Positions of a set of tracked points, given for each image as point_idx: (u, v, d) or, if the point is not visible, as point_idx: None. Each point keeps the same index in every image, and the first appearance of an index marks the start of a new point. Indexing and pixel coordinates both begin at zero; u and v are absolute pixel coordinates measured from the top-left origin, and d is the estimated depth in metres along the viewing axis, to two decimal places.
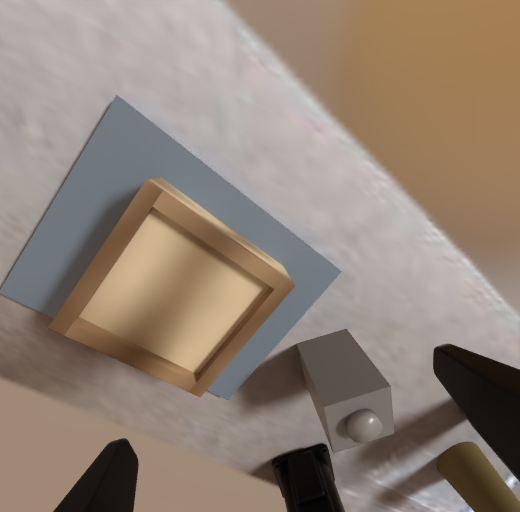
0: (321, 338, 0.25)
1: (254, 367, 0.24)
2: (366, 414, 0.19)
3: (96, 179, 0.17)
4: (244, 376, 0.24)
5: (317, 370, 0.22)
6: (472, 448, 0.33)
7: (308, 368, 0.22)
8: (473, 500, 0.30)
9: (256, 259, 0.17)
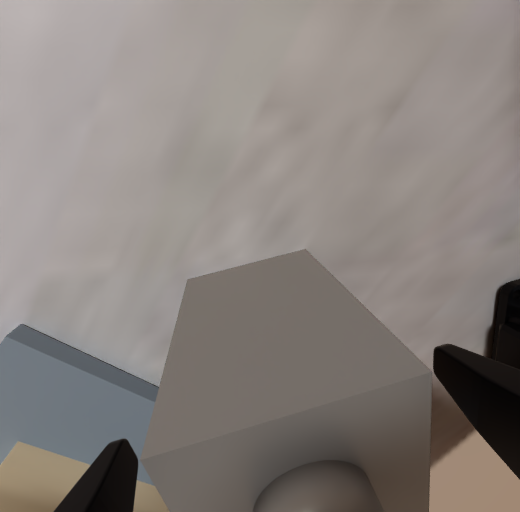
0: None
1: None
2: None
3: None
4: None
5: None
6: None
7: None
8: None
9: None
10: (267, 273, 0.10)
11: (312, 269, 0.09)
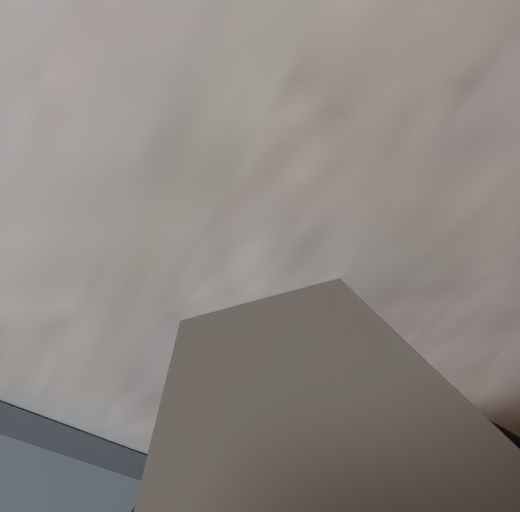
0: None
1: None
2: None
3: None
4: None
5: None
6: None
7: None
8: None
9: None
10: (292, 319, 0.07)
11: (359, 317, 0.06)
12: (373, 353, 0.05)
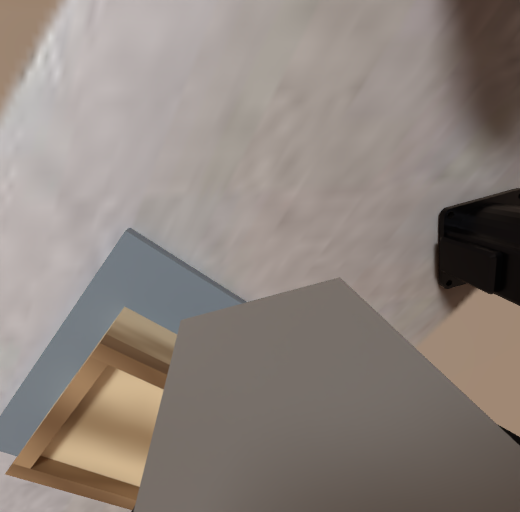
0: None
1: None
2: None
3: None
4: None
5: None
6: None
7: None
8: None
9: (69, 386, 0.14)
10: (293, 318, 0.07)
11: (360, 316, 0.06)
12: (374, 352, 0.05)
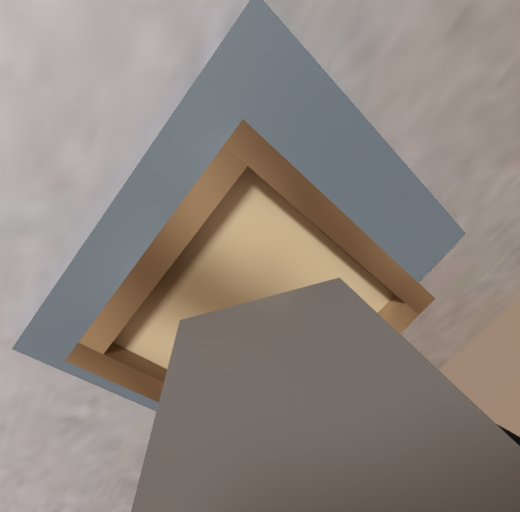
0: None
1: (421, 188, 0.14)
2: None
3: None
4: (433, 205, 0.15)
5: None
6: None
7: None
8: None
9: (183, 202, 0.09)
10: (292, 318, 0.07)
11: (360, 316, 0.06)
12: (374, 352, 0.05)
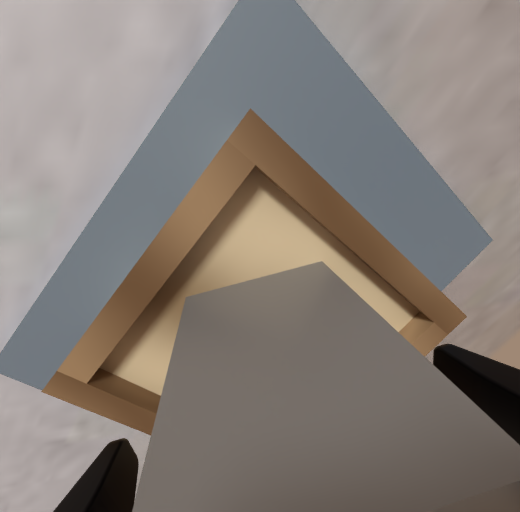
0: None
1: (445, 190, 0.13)
2: None
3: None
4: (458, 208, 0.13)
5: None
6: None
7: None
8: None
9: (179, 208, 0.07)
10: (279, 292, 0.08)
11: (334, 288, 0.08)
12: (341, 312, 0.07)
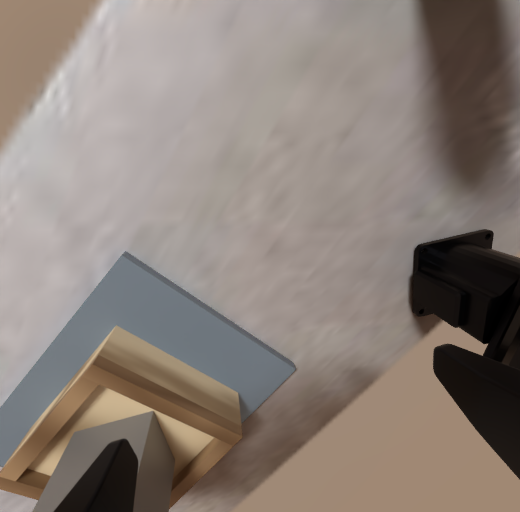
0: None
1: (256, 346, 0.21)
2: None
3: None
4: (267, 354, 0.21)
5: None
6: None
7: None
8: None
9: (60, 403, 0.15)
10: (116, 439, 0.16)
11: (138, 443, 0.15)
12: None
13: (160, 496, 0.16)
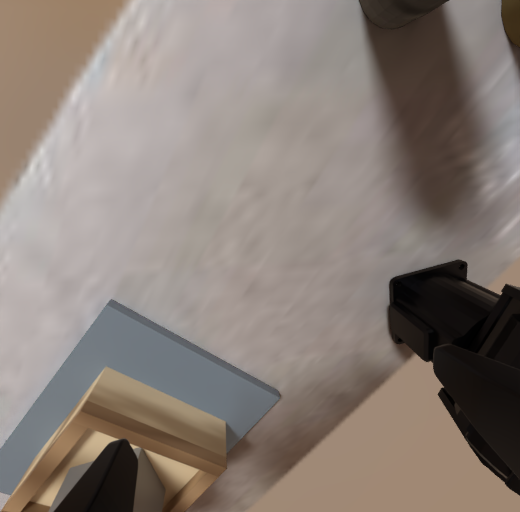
0: None
1: (239, 378, 0.22)
2: None
3: None
4: (251, 386, 0.22)
5: None
6: None
7: None
8: None
9: (54, 446, 0.17)
10: None
11: None
12: None
13: None
